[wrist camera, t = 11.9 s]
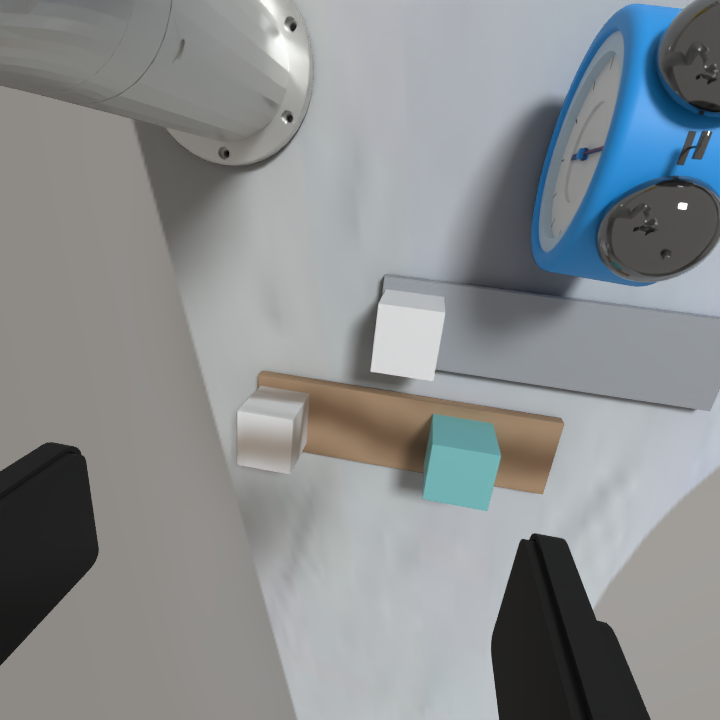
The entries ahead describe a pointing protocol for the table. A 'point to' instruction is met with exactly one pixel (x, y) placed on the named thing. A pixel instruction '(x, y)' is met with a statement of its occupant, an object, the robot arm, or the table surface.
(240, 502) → the table surface
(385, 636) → the table surface
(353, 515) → the table surface
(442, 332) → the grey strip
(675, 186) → the alarm clock
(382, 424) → the walnut strip
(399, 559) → the table surface
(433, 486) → the teal cube
